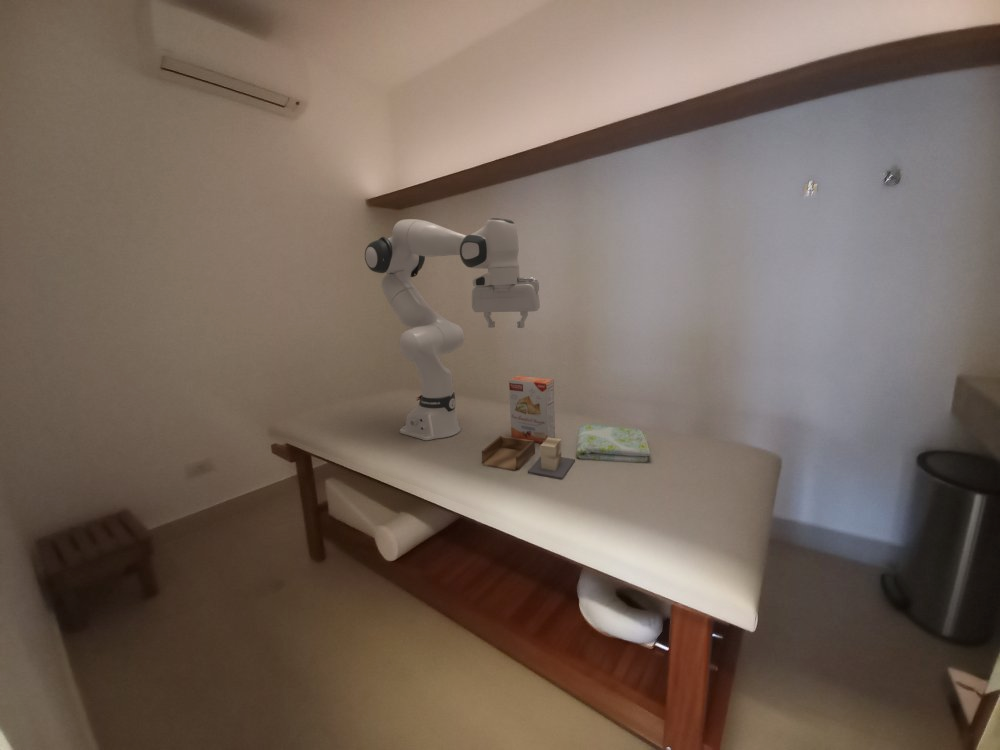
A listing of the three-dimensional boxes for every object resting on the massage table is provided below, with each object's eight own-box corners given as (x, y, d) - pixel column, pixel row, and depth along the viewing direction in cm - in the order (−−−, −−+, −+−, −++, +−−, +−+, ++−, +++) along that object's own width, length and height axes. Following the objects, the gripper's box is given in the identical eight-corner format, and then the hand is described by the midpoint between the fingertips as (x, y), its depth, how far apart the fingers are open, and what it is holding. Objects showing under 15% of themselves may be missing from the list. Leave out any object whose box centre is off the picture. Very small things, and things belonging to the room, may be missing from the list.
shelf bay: (480, 464, 117) (479, 452, 116) (500, 447, 128) (500, 435, 128) (517, 471, 112) (516, 458, 111) (535, 452, 123) (534, 440, 122)
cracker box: (510, 438, 136) (507, 378, 131) (519, 432, 141) (517, 374, 136) (547, 445, 128) (545, 382, 124) (555, 439, 133) (554, 378, 128)
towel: (651, 465, 112) (652, 448, 111) (575, 460, 118) (575, 444, 116) (644, 440, 130) (645, 425, 128) (578, 437, 135) (578, 423, 134)
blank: (548, 459, 116) (547, 437, 115) (561, 461, 115) (561, 439, 113) (541, 468, 111) (540, 445, 110) (554, 470, 110) (554, 447, 108)
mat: (527, 473, 110) (527, 471, 110) (542, 456, 121) (542, 454, 120) (562, 479, 106) (562, 477, 106) (574, 461, 116) (574, 459, 116)
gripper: (542, 276, 110) (543, 326, 113) (478, 280, 119) (480, 326, 122) (534, 276, 105) (535, 329, 108) (467, 280, 114) (470, 328, 117)
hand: (506, 327), depth 115 cm, fingers open, 8 cm apart
